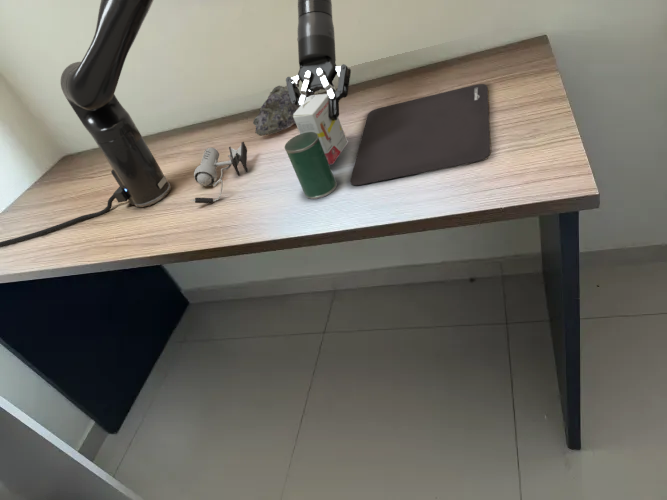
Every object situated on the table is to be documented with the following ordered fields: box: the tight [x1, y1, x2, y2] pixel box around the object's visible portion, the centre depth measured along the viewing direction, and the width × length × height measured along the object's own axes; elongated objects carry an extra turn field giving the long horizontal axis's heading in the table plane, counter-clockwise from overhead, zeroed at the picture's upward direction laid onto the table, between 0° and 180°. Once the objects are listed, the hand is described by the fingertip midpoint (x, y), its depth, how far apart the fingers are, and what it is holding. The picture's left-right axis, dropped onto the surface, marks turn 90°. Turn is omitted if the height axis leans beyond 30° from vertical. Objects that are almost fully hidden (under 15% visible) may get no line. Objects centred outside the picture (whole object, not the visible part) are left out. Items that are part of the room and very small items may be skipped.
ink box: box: [293, 93, 349, 166], centre depth 130 cm, size 9×5×12 cm, turn 156°
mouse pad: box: [349, 83, 491, 186], centre depth 130 cm, size 32×27×1 cm
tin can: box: [284, 132, 338, 200], centre depth 123 cm, size 7×7×11 cm
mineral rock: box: [252, 85, 301, 137], centre depth 154 cm, size 13×11×10 cm
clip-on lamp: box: [190, 141, 249, 204], centre depth 142 cm, size 12×6×18 cm
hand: (319, 121), depth 129 cm, fingers closed on ink box, 5 cm apart
